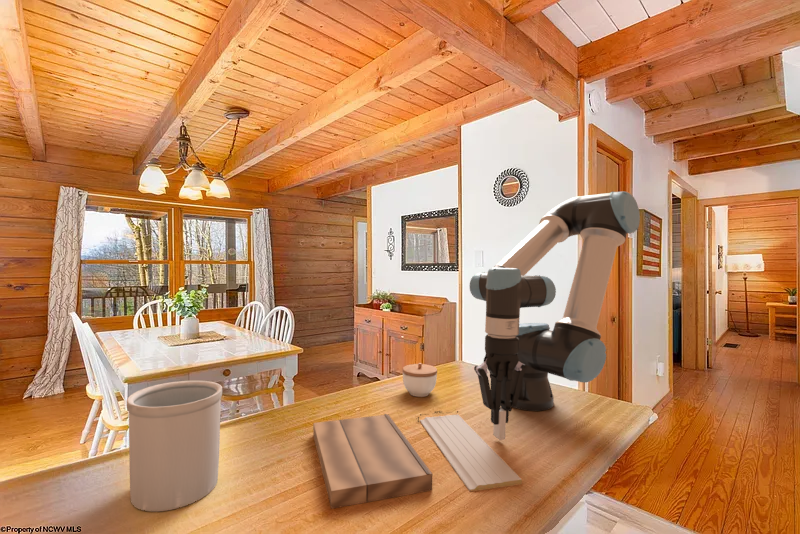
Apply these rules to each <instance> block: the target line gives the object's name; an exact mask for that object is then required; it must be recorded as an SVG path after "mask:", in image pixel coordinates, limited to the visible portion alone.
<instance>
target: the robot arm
mask: <svg viewBox="0 0 800 534" xmlns="http://www.w3.org/2000/svg"><path fill="white" fill-rule="evenodd" d="M640 216H641V215H640V209H639V205H638V203H637V201H636V198H635V197H634V196H633V195H632V194H631V193H630V192H629V191H623V190H622V191H611V192H605V193H598V194H597V193H596V194H589V195H586V194H585V195H579V196H574V197H571V198H569V199H567V200H565V201H562V202H561V203H559V204H557V205H556V206H555V207H553V208H552V209H550V211H548V212H547V213H546V214H544V216H542V217H541V219H540V220H539V223H538V225H537V226H536V227H535V228H534V229H533V230H532V231H531V232H530V233H529V234H528V235H527V236H525V237H524V238H523V239H522V240H521V241H520V242H519V243H518V244H516V246H514V248H513V249H512V250H511V251H509V252H508V253H506V255H505V256H504V257H503V258H501V260H500V261H499V262H497V263H496V264H495V265H494V266H493V267H491V268H489V269H488V270H487V272H485V271H484V272H483V271H482V272H477V273H476V274H475V273H474V275H473V276H472V277H471V278H470V280H469V292H470V294H471V296H473V298H475V300H476V299H477V300H481V301H484V302H485V323H484V325H485V330H484V332H485V333H486V335H485V336H484V352H485V356H484V358H483V361H482V363H481V364H479V365H475V366H474V367H473V369H474V372H475V373H476V375H477V377H478V382H479V388H480V394H481V399H482V403H483V406H484V407H486V408H488V409H489V410H490V421H491V423H492V424H493V430H492V431H493V434H492V435H493V437H495V438H496V439H498V441H502V440H506V433H507V432H506V430H507V429H506V426H507V425H506V424H508V423H509V419H510V418H509V415H510V413H509V412H511V411H512V410H513V408H514V409H517V410H523V411H529V412H530V411H533V412H535V411H537V412H539V411H541V412H542V411H546V410H549V409H552V408H553V407H554V405H555V404H554V402H555V401H554V399H555V397H554V394H553V390H552V388H551V387H552V386H551V384H550V380H549V377H548V376H549V375H553V376H557V377H561V378H564V379H566V380H568V381H573V382H580V383H589V382H592V381H593V380H594V379H595V378H597V377H598V376H599V375H600V373H601V372H602V370H603V368H604V367H605V363H606V360H607V353H606V352H607V348H606V345H605V343H604V342H603V341H602V340H601V337H602V334H601V333H600V331H599V330H598V324H599V319H600V316H601V311H602V307H603V304H604V300H605V295H606V292H607V289H608V285H609V281H610V277H611V273H612V269H613V264H614V261H615V257H616V252H617V250H618V247H619V246H622V245H623V244H625V241H626V238H627V235H628V234H633V233H635V232H636V231H637V230H638V229H639V226H640V221H641V217H640ZM578 235H579V236H580V237H581V238H582V239H583V242H582V247H581V251H580V254H579V257H578V261H577V264H576V265H577V266H576V269H575V272H574V276H573V279H572V284H571V286H570V291H569V293H568V298H567V301H566V305H565V309H564V313H563V316H562V318H561V319H559V320H558V321H556V322H555V323H554V326H553V330H550V329H551V327H550V325H549V324H548V323H545V322H524V323H520V316H521V314H520V313H521V311H520V310H521V308H522V309H523V308H524V309H525V308H541V307H544V306H545V307H546V306H548V305H551V303H552V302H553V301H554V300H555V298H556V293H557V289H556V285H555V283H554V282H553V280H552V279H551V278H549V277H548V276H546V275H545V276H544V275H538V274H537V275H527V274H528V273H529V271H530V270H532V269H533V268H534V267H535V266H536V265H537V264H538V263H539V262H540V261H541V260H542V259H543V258H544V257H545V256H546V255H547V254H548V253H549V252H550V251H551V250H552V249H553V248H554V247H555V246H556V245H557V244H560V243H563V242H565V241H566V240H567V239H568V238H569V237H573V236H578ZM488 374H489V377H490V381H489V377H488Z"/></svg>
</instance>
